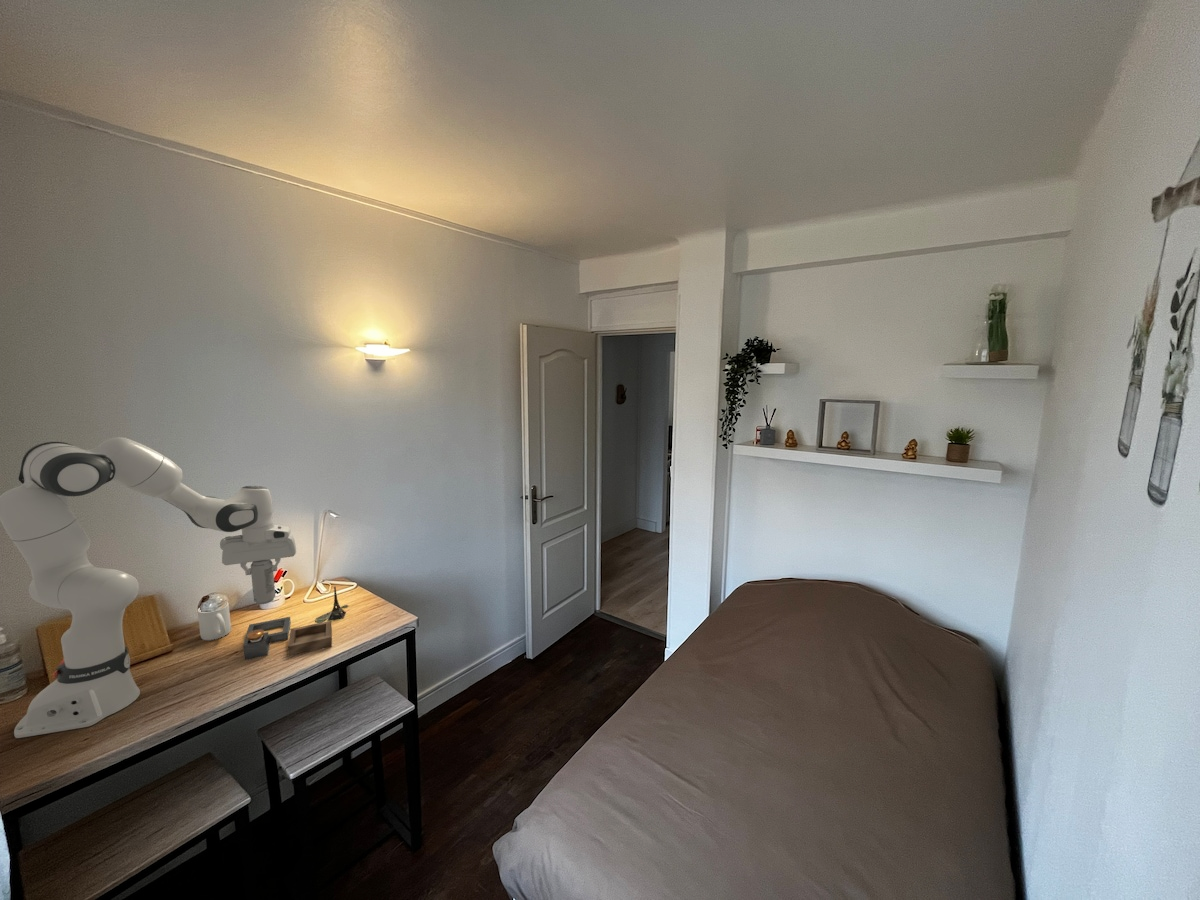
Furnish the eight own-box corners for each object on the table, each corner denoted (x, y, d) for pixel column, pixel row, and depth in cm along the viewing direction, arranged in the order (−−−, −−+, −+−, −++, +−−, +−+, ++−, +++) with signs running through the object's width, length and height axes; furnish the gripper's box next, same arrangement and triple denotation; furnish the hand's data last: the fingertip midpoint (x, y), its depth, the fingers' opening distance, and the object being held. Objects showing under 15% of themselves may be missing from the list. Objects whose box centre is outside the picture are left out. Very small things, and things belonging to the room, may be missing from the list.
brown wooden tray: (288, 656, 151) (287, 646, 151) (291, 638, 162) (290, 628, 161) (331, 646, 157) (330, 637, 157) (331, 629, 167) (331, 620, 167)
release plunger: (247, 656, 150) (245, 638, 149) (249, 649, 154) (247, 631, 153) (264, 652, 152) (262, 634, 151) (266, 645, 156) (264, 628, 155)
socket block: (240, 661, 148) (238, 646, 148) (250, 631, 166) (248, 617, 165) (286, 651, 154) (284, 637, 153) (290, 623, 171) (289, 610, 171)
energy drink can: (261, 596, 164) (257, 555, 162) (279, 596, 165) (275, 556, 162) (249, 605, 158) (245, 563, 156) (268, 605, 159) (264, 563, 156)
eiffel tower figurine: (346, 605, 186) (344, 573, 184) (363, 612, 181) (361, 579, 179) (308, 622, 173) (305, 588, 171) (325, 630, 168) (323, 594, 166)
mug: (239, 636, 162) (236, 608, 160) (209, 647, 155) (205, 618, 154) (226, 625, 169) (223, 598, 167) (197, 635, 162) (193, 607, 161)
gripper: (217, 540, 150) (221, 581, 152) (293, 531, 160) (296, 570, 162) (221, 534, 155) (225, 574, 157) (295, 526, 165) (297, 564, 167)
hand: (261, 572), depth 160 cm, fingers closed on energy drink can, 6 cm apart
